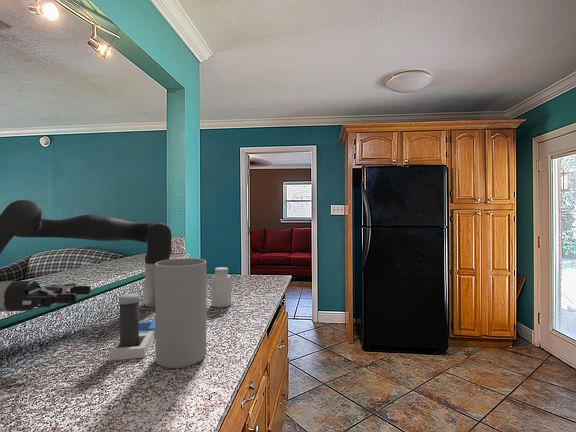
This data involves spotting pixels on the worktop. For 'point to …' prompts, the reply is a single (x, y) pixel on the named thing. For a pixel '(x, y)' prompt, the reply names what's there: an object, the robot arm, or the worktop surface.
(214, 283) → the pill bottle
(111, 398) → the worktop surface
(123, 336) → the grey capped cylinder
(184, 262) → the cylinder vase
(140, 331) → the blue grey comb bracket
